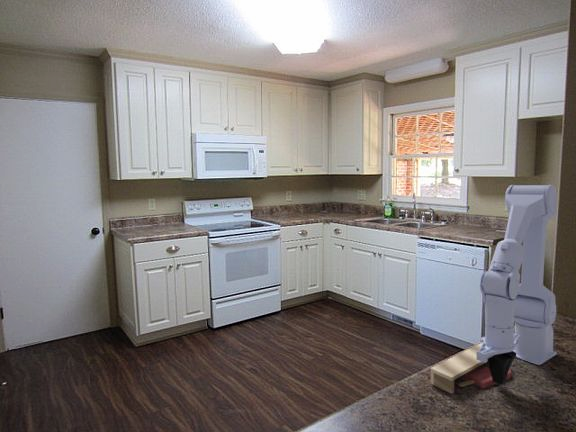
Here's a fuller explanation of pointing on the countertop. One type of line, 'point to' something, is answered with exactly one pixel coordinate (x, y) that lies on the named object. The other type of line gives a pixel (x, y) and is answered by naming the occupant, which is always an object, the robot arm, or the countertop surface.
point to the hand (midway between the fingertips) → (498, 382)
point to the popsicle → (481, 377)
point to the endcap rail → (454, 368)
